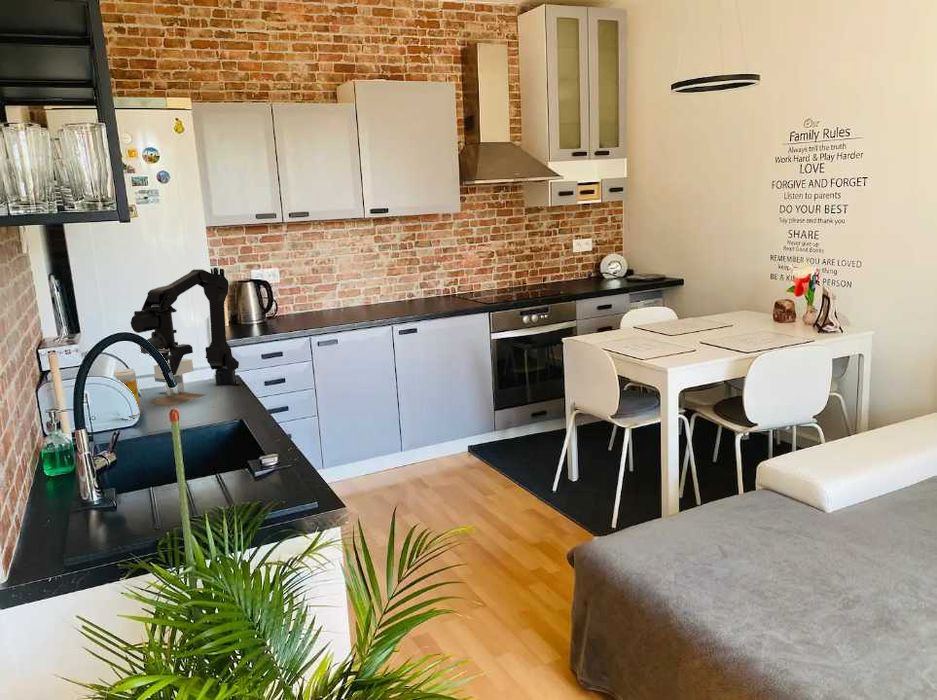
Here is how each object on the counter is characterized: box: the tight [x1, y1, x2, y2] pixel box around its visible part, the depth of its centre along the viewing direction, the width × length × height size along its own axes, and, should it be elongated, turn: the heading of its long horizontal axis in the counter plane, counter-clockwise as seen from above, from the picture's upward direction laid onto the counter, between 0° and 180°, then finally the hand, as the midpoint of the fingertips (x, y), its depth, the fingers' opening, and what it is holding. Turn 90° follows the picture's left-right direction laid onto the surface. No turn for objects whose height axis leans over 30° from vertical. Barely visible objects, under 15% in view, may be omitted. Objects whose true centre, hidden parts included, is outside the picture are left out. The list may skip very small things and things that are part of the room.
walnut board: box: [145, 391, 206, 407], centre depth 248 cm, size 15×12×1 cm
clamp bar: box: [153, 375, 182, 385], centre depth 254 cm, size 2×11×2 cm, turn 61°
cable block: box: [153, 358, 194, 379], centre depth 245 cm, size 12×4×4 cm, turn 151°
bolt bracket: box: [165, 374, 185, 397], centre depth 253 cm, size 6×2×7 cm, turn 151°
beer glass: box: [113, 368, 142, 414], centre depth 229 cm, size 6×6×15 cm
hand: (169, 374), depth 244 cm, fingers closed on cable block, 4 cm apart
